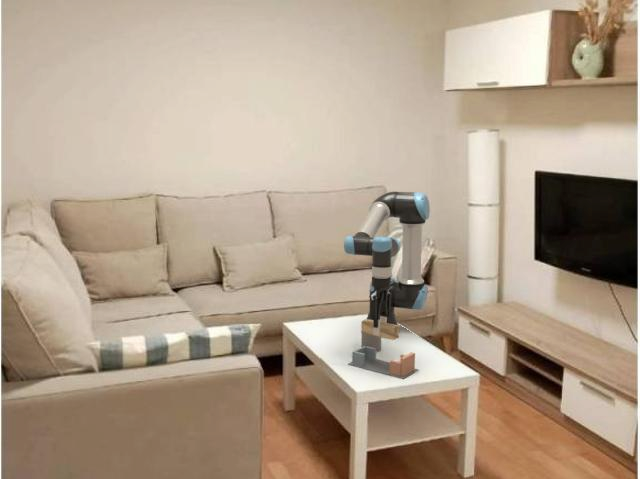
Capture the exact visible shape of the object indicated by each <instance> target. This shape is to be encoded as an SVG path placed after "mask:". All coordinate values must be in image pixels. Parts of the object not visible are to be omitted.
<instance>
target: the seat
mask: <svg viewBox="0 0 640 479" xmlns="http://www.w3.org/2000/svg"><path fill="white" fill-rule="evenodd" d="M351 355H352V356H351V359H352V360H351V362H348V363H347V365H349V366H351V367H356V368H360V369H364V370H367V371H371V372H375V373H378V374H383V375H387V376H391V377H394V378H397V379H402V380H405V379H407V378H408V377H410V376H411V375H413V374H415V373H417V372H419V371H420V369H418V368H415V370H414V371H412V372H410V373H408V374H407V375H405V376H401V375H400V376H399V375H395V374H391V373H390V361H385V360H382V359H377V352H376V348H372V347H368V346H363V347H359V348H356V349H355V350H353V351H352V354H351Z"/></svg>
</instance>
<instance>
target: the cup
mask: <svg viewBox="0 0 640 479" xmlns="http://www.w3.org/2000/svg"><path fill="white" fill-rule="evenodd" d="M360 340H361V342H360V343H361V345H360V346H361V347H363V346H368V347H372V348H376V353H378V352H381V349H382V338H381V337H376V336H372V335H367V334H363V333H361V339H360ZM361 347H360V348H361Z"/></svg>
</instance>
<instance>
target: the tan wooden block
mask: <svg viewBox="0 0 640 479" xmlns="http://www.w3.org/2000/svg"><path fill="white" fill-rule="evenodd" d="M373 321H374V320H369V319H367V318H366V319H364V320H362V321H361V325H360V328H361V329H360V331H361V332H360V333H361V334H362V333H363V334H367V335H372V336H376V337H381V339H382V338H383V339H385V340H386V339H387V340H392V341H394V340H396V339H399V338H400V334H399V333H400V330H399V329H400V325H399V324H398V325H394V324H389V323H384V322H380V336H377V335H373Z"/></svg>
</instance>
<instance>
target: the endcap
mask: <svg viewBox="0 0 640 479" xmlns="http://www.w3.org/2000/svg"><path fill="white" fill-rule="evenodd" d="M399 359H400V361H398V360H397V361H396V360H394V359H391V360H390V361H389V362H390V373H391V374H395V375H399V376H400V375H401V376H405V375H407V374H408V373H410V372H412V371H414V370H415V369H416V368H415V367H416V366H415V364H416V363H415V362H416V352H409V353H407V354H401V355H400V358H399Z"/></svg>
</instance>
